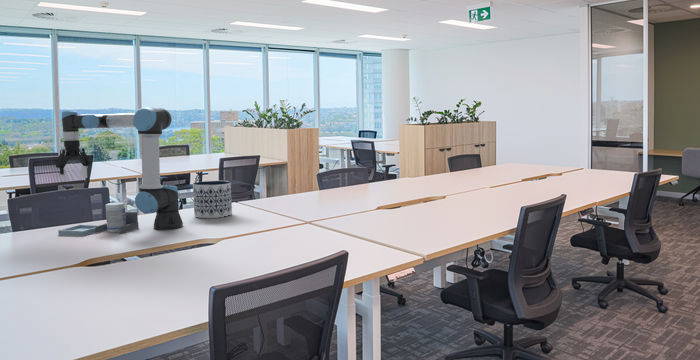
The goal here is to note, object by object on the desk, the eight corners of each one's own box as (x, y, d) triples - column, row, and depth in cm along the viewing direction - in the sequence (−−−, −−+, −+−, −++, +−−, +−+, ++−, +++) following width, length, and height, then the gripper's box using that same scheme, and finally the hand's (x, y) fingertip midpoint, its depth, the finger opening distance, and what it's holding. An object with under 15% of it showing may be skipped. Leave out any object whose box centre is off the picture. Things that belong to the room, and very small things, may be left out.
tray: (103, 230, 287) (103, 225, 286) (83, 236, 272) (82, 231, 272) (80, 229, 290) (79, 224, 290) (58, 234, 276) (58, 230, 276)
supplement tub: (128, 231, 283) (126, 203, 281) (108, 233, 278) (107, 205, 276) (124, 228, 291) (122, 201, 289) (105, 230, 286) (103, 203, 284)
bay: (114, 227, 294) (113, 211, 293) (138, 228, 290) (137, 212, 289) (96, 232, 280) (94, 215, 279) (121, 233, 276) (120, 216, 275)
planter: (227, 218, 315) (225, 184, 313) (189, 219, 315) (187, 185, 313) (235, 212, 337) (234, 180, 335) (200, 212, 337) (199, 180, 335)
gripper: (85, 139, 299) (88, 176, 301) (45, 141, 276) (49, 181, 278) (95, 138, 296) (98, 176, 298) (56, 140, 273) (60, 182, 275)
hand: (74, 179), depth 288 cm, fingers open, 13 cm apart
